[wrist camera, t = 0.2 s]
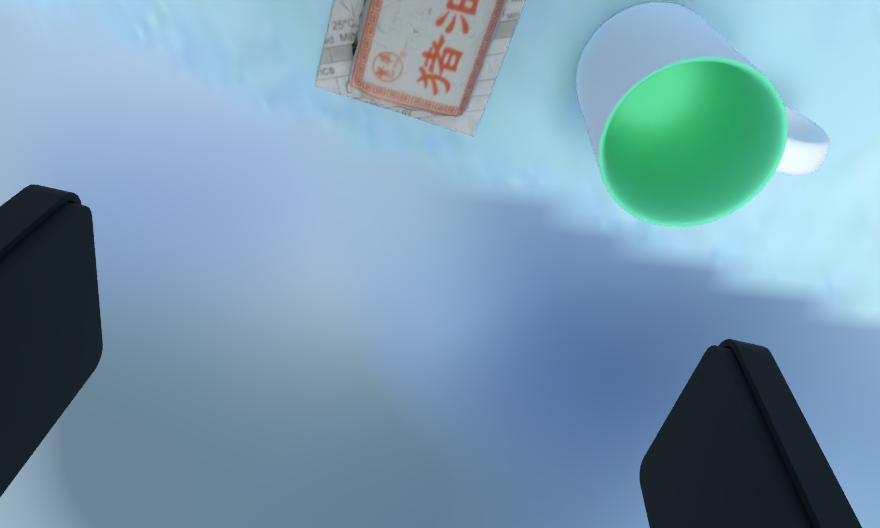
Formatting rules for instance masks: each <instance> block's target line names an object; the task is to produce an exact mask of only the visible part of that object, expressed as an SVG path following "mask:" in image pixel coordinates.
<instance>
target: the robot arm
mask: <svg viewBox="0 0 880 528" xmlns="http://www.w3.org/2000/svg"><path fill="white" fill-rule="evenodd" d="M94 247H95V246H94V234H93V222H92V214H91V211H90V209H89V208H88V207H87V206H84V205H81V200H80V199H79V197H78V195H76V194H75V193H72V192H67V191H63V190H58V189H54V188H49V187H44V186H40V185H29V186H27V187H25V188H24V189H23V190H22V191H20V192H19V193H18V194H16V195H15V196H14V197H12V198H11V199H10V200H8V201H7V202H6V203H4V204H3V205H2V206H0V496H2V494H3V493H4V491H5V490H6V489H7V487H8V486H9V485H10V483H11V482H12V480H13V479H14V478H15V477H16V475H17V474H18V472H19V471H20V470H21V469H22V467H23V466H24V464H25V463H26V462H27V460H28V459H29V458H30V456H31V455H32V454H33V452H34V451H35V450H36V448H37V447H38V446H39V444H40V443H41V442H42V440H43V439H44V438H45V436H46V435H47V433H48V432H49V431H50V429H51V428H52V427H53V425H54V424H55V423H56V421H57V420H58V418H59V417H60V416H61V415H62V413H63V412H64V410H65V409H66V408H67V407H68V405H69V404H70V403H71V401H72V400H73V398H74V397H75V396H76V394H77V393H78V391H79V390H80V389H81V388H82V386H83V385H84V384H85V382H86V381H87V380H88V378H89V377H90V376H91V374H92V373H93V372H94V370H95V369H96V367H97V365H98V363H99V361H100V358H101V354H102V349H103V348H102V346H103V344H102V330H101V320H100V319H101V318H100V307H99V294H98V283H97V270H96V258H95V248H94ZM640 484H641V489H642V494H643V498H644V503H645V508H646V512H647V517H648V521H649V526H650V528H862V527H861V525H860V523H859V521H858V519H857V517H856V515H855V513H854V511H853V509H852V508H851V506H850V504H849V502H848V500H847V498H846V496H845V494H844V492H843V490H842V488H841V486H840V484H839V482H838V481H837V479H836V477H835V475H834V473H833V471H832V469H831V467H830V465H829V463H828V461H827V459H826V458H825V456H824V454H823V452H822V450H821V448H820V446H819V444H818V442H817V440H816V438H815V436H814V434H813V433H812V431H811V429H810V427H809V425H808V423H807V421H806V419H805V417H804V415H803V413H802V412H801V410H800V408H799V406H798V404H797V402H796V400H795V398H794V396H793V394H792V392H791V390H790V389H789V387H788V385H787V383H786V381H785V379H784V377H783V375H782V373H781V371H780V369H779V367H778V365H777V363H776V362H775V360H774V358H773V356H772V354H771V352H770V351H769V350H768V349H767V348H765V347H763V346H759V345H754V344H750V343H745V342H740V341H736V340H732V339H727V340H725V341H723V342H721V343H720V345H719V346H715V345H714V346H711V347H709V348H708V349H707V351H706V352H705V353H704V355H703V357H702V359H701V361H700V362H699V364H698V365H697V367H696V369H695V371H694V372H693V374H692V376H691V378H690V379H689V381H688V383H687V384H686V386H685V388H684V389H683V391H682V393H681V395H680V396H679V398H678V400H677V401H676V403H675V405H674V407H673V409H672V410H671V412H670V414H669V415H668V417H667V419H666V420H665V422H664V424H663V426H662V427H661V429H660V431H659V432H658V434H657V436H656V438H655V440H654V441H653V443H652V444H651V446H650V448H649V450H648V451H647V453H646V455H645V456H644V458H643V461H642V463H641V467H640Z"/></svg>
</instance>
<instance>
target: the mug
mask: <svg viewBox="0 0 880 528" xmlns="http://www.w3.org/2000/svg"><path fill="white" fill-rule="evenodd" d="M576 91H577V96H578V100H579V103H580V106H581V110H582V113H583V116H584V120H585V123H586V126H587V130H588V133H589V136H590V140H591V143H592V146H593V150H594V153H595V157H596V160H597V163H598V167H599V170H600V173H601V177H602V180H603V182H604V185H605V187H606V189H607V191H608V192H609V194H610V195H611V197H612V198H613V199H614V200H615V202H616V203H617V204H618V205H619V206H620V207H621V208H623V209H624V210H625V211H627V212H628V213H629V214H631V215H633V216H634V217H636V218H638V219H640V220H643V221H645V222H648V223H652V224H655V225H660V226H668V227H687V226H695V225H700V224H704V223H708V222H711V221H714V220H717V219H719V218H722V217H724V216H726V215H728V214H730V213H732V212H734V211H736V210H737V209H739V208H740V207H742V206H743V205H745V204H746V203H747V202H749V201H750V200H751V199H752V198H753V197H755V196H756V195H757V194H758V193H759V192H760V191H761V190H762V189H763V187H764V186H765V185H766V184H767V183H768V181H769V180H770V179H771V177H772V176H773V174H774V173H775V172H778V173H783V174H789V175H807V174H810V173H812V172H814V171H815V170H816V169H817V168H818V167H819V166H820V165H821V163H822V162H823V160H824V159H825V157H826V155H827V152H828V150H829V145H830V141H829V138H828V136H827V134H826V133H825V131H824V130H823V129H822V128H821V127H820V126H818V125H817V124H816V123H814V122H813V121H812V120H810V119H809V118H807V117H805V116H804V115H802V114H800V113H798V112H796V111H794V110H792V109H790V108H788V107H786V106H784V103H783V101H782V99H781V96H780V95H779V93H778V91H777V90H776V88H775V87H774V85H773V84H772V83H771V82H770V81H769V80H768V79H767V78H766V77H765V76H764V75H763V74H762V73H761V72H760V71H759V70H758V69H756V68H755V67H754V66H753V65H752V64H751V63H750V62H749V61H748V60H747V59H746V58H745V57H744V56H742V55H741V54H740V53H739V52H738V51H737V50H736V49H735V48H734V47H733V46H732V45H731V44H730V43H729V42H727V41H726V40H725V39H724V38H723V37H722V36H721V35H720V34H719V33H718V32H717V31H716V30H715V29H713V28H712V27H711V26H710V25H709V24H708V23H707V22H706V21H705V20H704V19H703V18H702V17H700V16H699V15H698V14H697V13H695V12H694V11H692V10H690V9H688V8H686V7H684V6H681V5H678V4H674V3H669V2H648V3H643V4H638V5H635V6H632V7H629V8H627V9H625V10H623V11H621V12H619V13H617V14H616V15H614V16H612V17H611V18H610V19H608V20H607V21H606V22H605V23H603V24H602V25H601V26H600V27H599V28H598V29H597V30H596V32H595V33H594V34H593V35H592V37H591V38H590V39H589V41H588V42H587V44H586V46H585V48H584V50H583V52H582V54H581V57H580V59H579V63H578V67H577V72H576Z"/></svg>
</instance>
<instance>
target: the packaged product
mask: <svg viewBox="0 0 880 528" xmlns="http://www.w3.org/2000/svg"><path fill="white" fill-rule="evenodd" d="M524 3H525V0H334V4H333V8H332V12H331V17H330V21H329V25H328V30H327V34H326V38H325V43H324V47H323V52H322V55H321V60H320V65H319V69H318V73H317V77H316V81H315V86H317V87H320V88H323V89H326V90H329V91H332V92H335V93H338V94H340V95H344V96H348V97H351V98H354V99H357V100H360V101H363V102H366V103H369V104H373V105H376V106H379V107H383V108H387V109H390V110H394V111H397V112H399V113H402V114H405V115H408V116H411V117H414V118H417V119H420V120H423V121H425V122H428V123H431V124H435V125H438V126H441V127H444V128H447V129H450V130H453V131H460V132H462V133H465V134H467V135H470V136H474V133H475V131H476V128H477V126H478V123H479V121H480V118H481V116H482V113H483V111H484V109H485V106H486V103H487V101H488V98H489V96H490V93H491V90H492V88H493V85H494V82H495V80H496V77H497V74H498V72H499V69H500V67H501V64H502V62H503V59H504V56H505V54H506V51H507V48H508V46H509V43H510V40H511V38H512V35H513V32H514V30H515V27H516V24H517V22H518V19H519V16H520V14H521V11H522V8H523V5H524Z"/></svg>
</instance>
